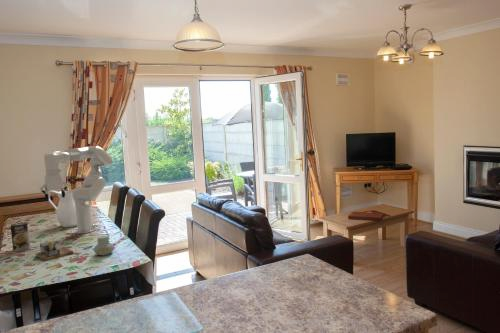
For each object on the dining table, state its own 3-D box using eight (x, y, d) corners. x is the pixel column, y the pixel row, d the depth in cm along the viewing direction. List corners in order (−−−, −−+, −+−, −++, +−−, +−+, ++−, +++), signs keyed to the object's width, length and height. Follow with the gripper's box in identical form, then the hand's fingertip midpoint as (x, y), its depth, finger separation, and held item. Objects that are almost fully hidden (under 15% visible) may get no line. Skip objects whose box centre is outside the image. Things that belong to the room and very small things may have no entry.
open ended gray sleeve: (60, 253, 223) (59, 245, 223) (48, 256, 219) (46, 248, 218) (52, 249, 233) (51, 240, 233) (40, 251, 229) (39, 243, 228)
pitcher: (86, 222, 304) (82, 187, 301) (74, 228, 287) (70, 191, 284) (57, 223, 306) (53, 188, 303) (44, 229, 289) (40, 192, 286)
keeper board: (64, 248, 237) (63, 235, 236) (73, 253, 227) (71, 239, 226) (36, 256, 226) (34, 241, 226) (43, 261, 216) (41, 246, 215)
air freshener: (93, 257, 218) (91, 240, 217) (95, 252, 226) (93, 236, 225) (114, 254, 221) (112, 237, 220) (114, 250, 229) (113, 233, 228)
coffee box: (13, 252, 237) (9, 226, 235) (13, 249, 243) (10, 224, 241) (30, 249, 241) (27, 223, 239) (30, 246, 247) (27, 221, 245)
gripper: (64, 170, 259) (67, 195, 261) (36, 173, 247) (39, 200, 249) (68, 171, 253) (71, 196, 255) (39, 174, 242) (42, 201, 243)
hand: (55, 198), depth 252 cm, fingers open, 9 cm apart
